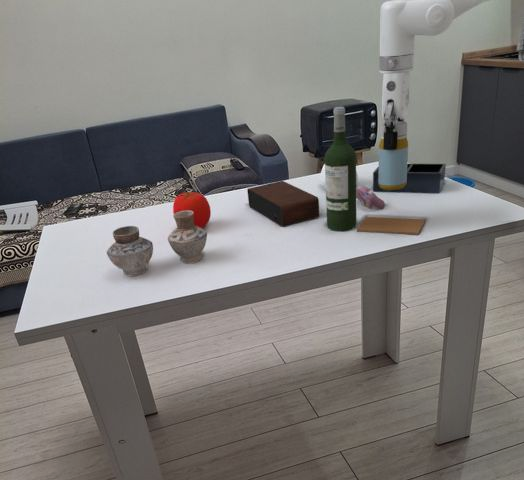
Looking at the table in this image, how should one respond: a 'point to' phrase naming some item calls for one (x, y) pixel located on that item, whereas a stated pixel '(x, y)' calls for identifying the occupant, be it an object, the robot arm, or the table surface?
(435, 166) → the divided storage box
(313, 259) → the table surface
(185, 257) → the pottery
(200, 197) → the tomato
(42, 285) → the table surface
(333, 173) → the wine bottle
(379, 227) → the cork mat
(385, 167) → the bottle
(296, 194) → the brown box
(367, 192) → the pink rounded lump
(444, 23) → the robot arm
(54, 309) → the table surface
